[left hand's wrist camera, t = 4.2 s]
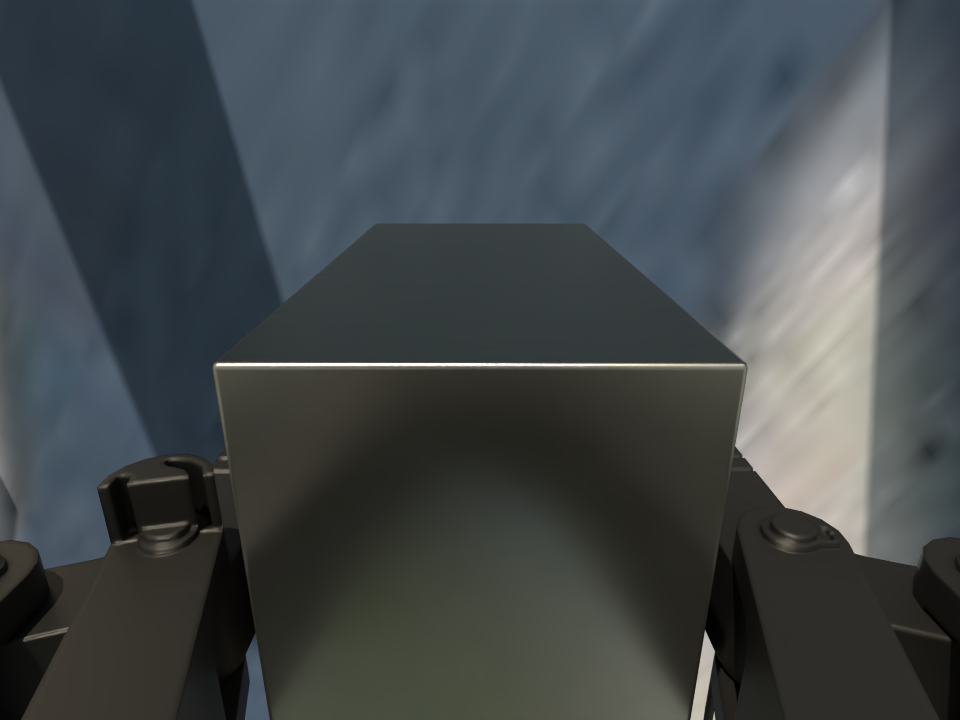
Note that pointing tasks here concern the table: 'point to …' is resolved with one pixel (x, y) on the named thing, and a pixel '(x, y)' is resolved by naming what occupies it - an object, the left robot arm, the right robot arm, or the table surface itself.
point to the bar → (480, 480)
